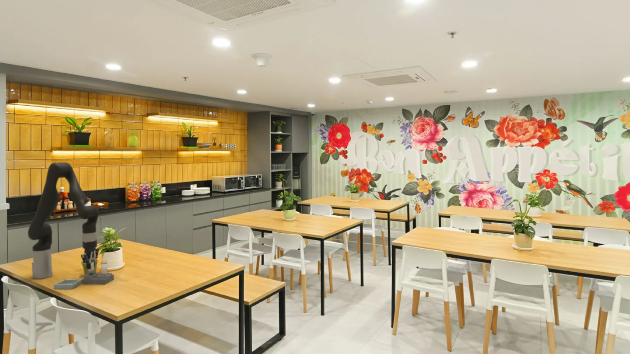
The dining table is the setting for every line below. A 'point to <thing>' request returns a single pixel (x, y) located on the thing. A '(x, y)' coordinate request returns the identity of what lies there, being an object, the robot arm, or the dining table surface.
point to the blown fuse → (91, 264)
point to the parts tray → (67, 284)
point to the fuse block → (97, 278)
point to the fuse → (104, 268)
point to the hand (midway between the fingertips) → (90, 267)
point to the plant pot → (87, 269)
